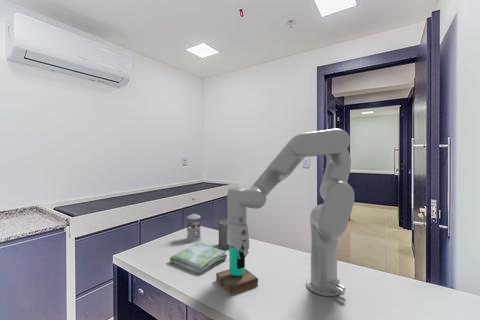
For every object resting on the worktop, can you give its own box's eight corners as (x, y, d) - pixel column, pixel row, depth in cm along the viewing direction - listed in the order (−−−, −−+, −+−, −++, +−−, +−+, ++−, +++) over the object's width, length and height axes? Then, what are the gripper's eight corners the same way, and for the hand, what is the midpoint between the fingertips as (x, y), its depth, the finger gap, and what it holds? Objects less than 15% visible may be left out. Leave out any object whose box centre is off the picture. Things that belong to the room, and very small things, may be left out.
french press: (182, 242, 137) (182, 199, 136) (190, 235, 148) (190, 195, 147) (199, 243, 135) (198, 199, 134) (205, 236, 146) (205, 196, 146)
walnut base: (257, 285, 92) (257, 278, 92) (230, 295, 86) (230, 287, 86) (241, 272, 102) (241, 265, 102) (216, 280, 96) (216, 273, 96)
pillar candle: (221, 241, 137) (221, 216, 137) (237, 243, 136) (237, 217, 135) (216, 248, 128) (216, 221, 127) (234, 250, 126) (233, 222, 125)
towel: (202, 276, 100) (202, 264, 100) (169, 263, 112) (169, 252, 112) (228, 260, 115) (228, 249, 115) (196, 250, 127) (196, 240, 127)
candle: (239, 277, 90) (239, 245, 89) (226, 273, 93) (226, 242, 92) (247, 270, 95) (247, 240, 94) (234, 266, 98) (234, 238, 98)
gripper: (257, 223, 88) (257, 271, 89) (234, 213, 102) (234, 255, 103) (240, 226, 84) (240, 277, 85) (218, 215, 98) (218, 259, 99)
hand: (237, 264), depth 94 cm, fingers closed on candle, 4 cm apart
